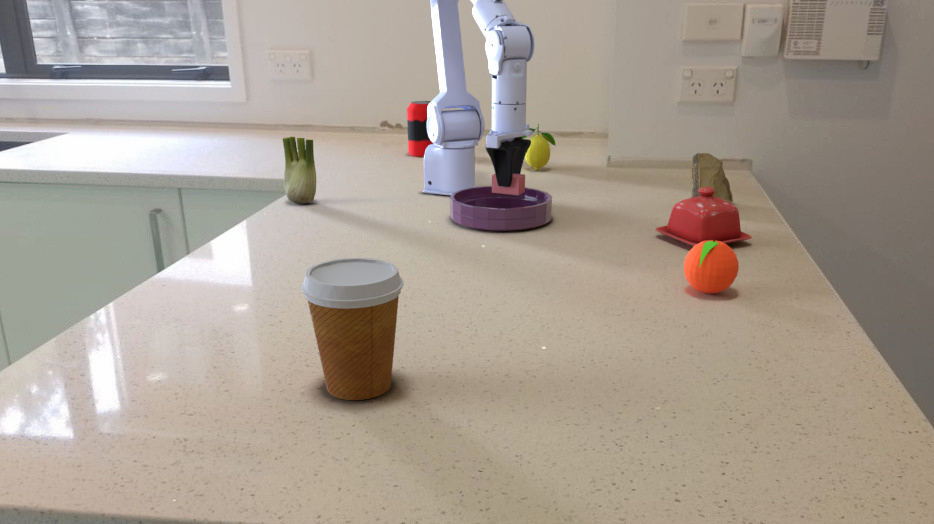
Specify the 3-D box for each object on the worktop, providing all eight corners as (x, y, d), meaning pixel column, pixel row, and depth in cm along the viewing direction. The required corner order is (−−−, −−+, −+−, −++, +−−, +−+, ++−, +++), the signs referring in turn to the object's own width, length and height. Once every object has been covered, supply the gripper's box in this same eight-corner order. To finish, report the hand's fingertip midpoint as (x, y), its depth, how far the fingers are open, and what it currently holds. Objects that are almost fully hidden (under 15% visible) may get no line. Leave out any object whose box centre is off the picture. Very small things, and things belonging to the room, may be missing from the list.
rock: (723, 185, 159) (675, 180, 157) (745, 154, 152) (696, 148, 150) (737, 230, 154) (688, 226, 151) (761, 200, 147) (710, 195, 144)
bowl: (433, 226, 139) (433, 202, 138) (475, 203, 154) (475, 182, 153) (530, 237, 133) (531, 213, 132) (564, 213, 148) (565, 191, 147)
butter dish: (697, 254, 125) (702, 198, 122) (650, 235, 135) (654, 183, 132) (755, 245, 130) (762, 191, 127) (706, 227, 140) (711, 176, 137)
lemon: (517, 171, 181) (518, 124, 178) (526, 166, 186) (527, 121, 183) (546, 174, 179) (548, 126, 175) (555, 169, 184) (556, 123, 180)
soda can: (446, 153, 201) (445, 101, 196) (427, 158, 195) (426, 105, 190) (421, 150, 204) (420, 99, 200) (401, 155, 199) (400, 102, 194)
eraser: (491, 192, 144) (491, 175, 143) (498, 189, 147) (498, 172, 146) (518, 195, 143) (518, 177, 141) (524, 191, 145) (525, 174, 144)
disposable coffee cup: (316, 367, 87) (306, 257, 83) (408, 365, 88) (404, 255, 83) (303, 410, 78) (292, 288, 74) (406, 407, 79) (401, 286, 75)
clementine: (722, 307, 105) (729, 252, 102) (670, 297, 108) (675, 243, 105) (742, 289, 111) (748, 237, 108) (692, 280, 114) (697, 229, 112)
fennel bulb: (321, 203, 153) (316, 136, 149) (299, 207, 150) (293, 140, 146) (303, 198, 157) (298, 133, 153) (280, 202, 154) (274, 136, 149)
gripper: (515, 109, 131) (514, 194, 137) (546, 99, 144) (544, 178, 149) (474, 106, 134) (474, 190, 139) (508, 97, 146) (507, 174, 151)
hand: (508, 184), depth 144 cm, fingers closed on eraser, 3 cm apart
